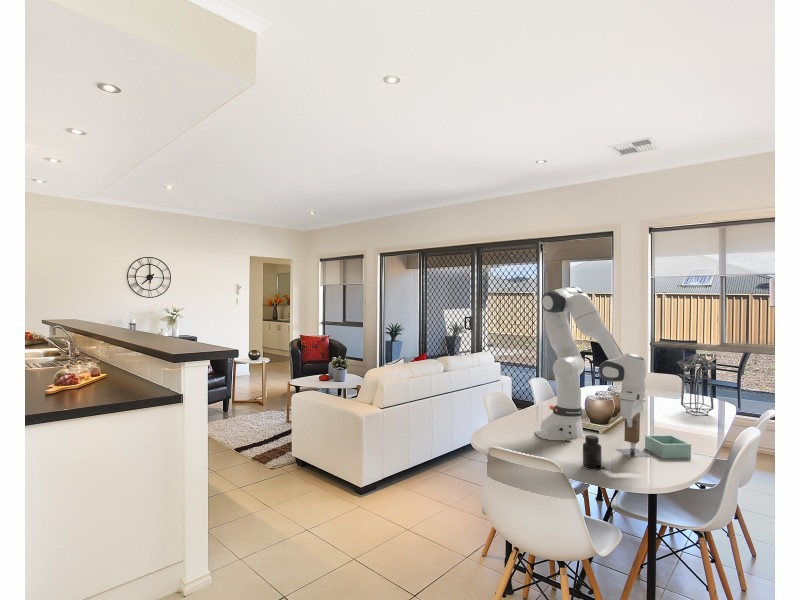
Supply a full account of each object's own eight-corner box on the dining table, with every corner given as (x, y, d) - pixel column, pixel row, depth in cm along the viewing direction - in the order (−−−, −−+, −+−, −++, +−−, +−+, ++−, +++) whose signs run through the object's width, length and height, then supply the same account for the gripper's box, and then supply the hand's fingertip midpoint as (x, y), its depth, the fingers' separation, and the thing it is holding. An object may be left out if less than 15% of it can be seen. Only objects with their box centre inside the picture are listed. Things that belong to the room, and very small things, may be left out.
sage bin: (662, 461, 182) (662, 444, 182) (644, 451, 194) (645, 435, 194) (690, 461, 182) (690, 444, 182) (671, 451, 194) (671, 435, 194)
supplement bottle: (596, 463, 179) (596, 434, 179) (604, 470, 172) (605, 439, 172) (579, 463, 179) (579, 434, 178) (587, 470, 172) (587, 439, 172)
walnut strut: (636, 443, 184) (637, 414, 184) (624, 440, 188) (625, 412, 187) (639, 441, 188) (640, 412, 188) (627, 438, 191) (628, 410, 191)
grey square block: (627, 461, 182) (628, 442, 182) (614, 452, 192) (615, 435, 192) (651, 460, 183) (651, 442, 183) (637, 452, 193) (637, 435, 193)
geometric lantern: (719, 417, 250) (719, 356, 250) (691, 418, 251) (691, 356, 250) (701, 410, 266) (701, 352, 265) (674, 410, 267) (674, 352, 266)
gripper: (632, 387, 197) (631, 418, 197) (617, 395, 182) (616, 428, 182) (647, 390, 193) (646, 421, 193) (634, 397, 178) (633, 432, 178)
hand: (632, 425), depth 188 cm, fingers closed on walnut strut, 5 cm apart
